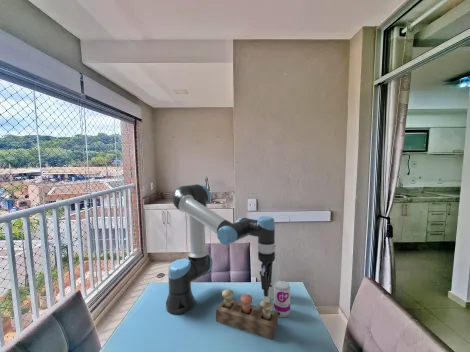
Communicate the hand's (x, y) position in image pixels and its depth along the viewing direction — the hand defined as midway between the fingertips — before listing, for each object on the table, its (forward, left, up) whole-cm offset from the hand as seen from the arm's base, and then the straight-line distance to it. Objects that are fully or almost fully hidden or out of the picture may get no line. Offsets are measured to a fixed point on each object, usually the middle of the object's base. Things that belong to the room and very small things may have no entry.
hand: (266, 301), depth 100 cm
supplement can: (+4, +14, -14) cm, 20 cm away
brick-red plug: (-10, 0, -7) cm, 12 cm away
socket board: (-10, 0, -13) cm, 17 cm away
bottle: (-4, +26, -14) cm, 30 cm away
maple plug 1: (-20, 0, -7) cm, 21 cm away
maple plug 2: (0, 0, -7) cm, 7 cm away
